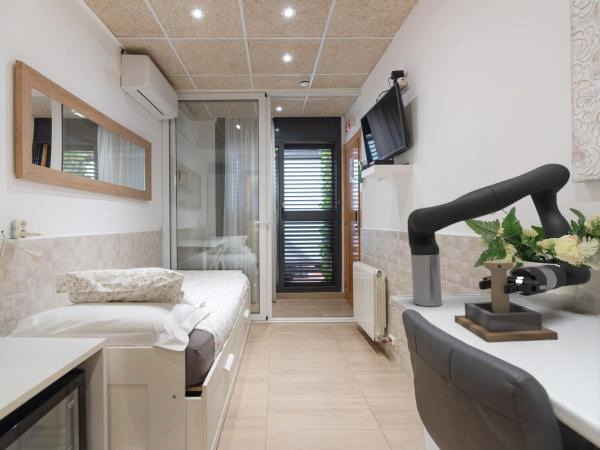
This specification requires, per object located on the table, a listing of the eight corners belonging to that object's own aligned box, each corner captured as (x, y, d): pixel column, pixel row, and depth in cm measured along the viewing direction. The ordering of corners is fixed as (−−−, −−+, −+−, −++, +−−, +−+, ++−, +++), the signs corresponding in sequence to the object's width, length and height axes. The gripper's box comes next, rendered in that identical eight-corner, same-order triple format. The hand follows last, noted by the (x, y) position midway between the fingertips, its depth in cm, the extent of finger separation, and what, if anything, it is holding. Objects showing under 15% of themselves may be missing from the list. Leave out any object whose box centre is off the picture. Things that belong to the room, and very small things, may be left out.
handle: (518, 324, 76) (514, 263, 76) (487, 321, 79) (484, 263, 79) (514, 318, 81) (511, 260, 81) (485, 316, 83) (482, 260, 84)
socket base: (454, 321, 88) (453, 301, 88) (512, 318, 88) (510, 299, 88) (487, 342, 72) (486, 318, 72) (557, 339, 72) (556, 315, 72)
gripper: (505, 264, 92) (466, 269, 86) (562, 269, 79) (521, 276, 72) (507, 289, 92) (467, 297, 85) (564, 298, 79) (523, 308, 72)
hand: (492, 287), depth 79 cm, fingers open, 6 cm apart
